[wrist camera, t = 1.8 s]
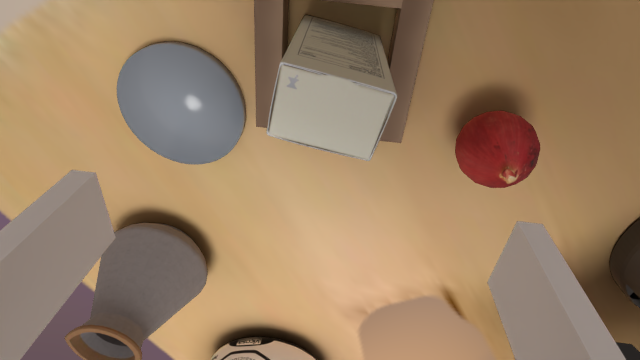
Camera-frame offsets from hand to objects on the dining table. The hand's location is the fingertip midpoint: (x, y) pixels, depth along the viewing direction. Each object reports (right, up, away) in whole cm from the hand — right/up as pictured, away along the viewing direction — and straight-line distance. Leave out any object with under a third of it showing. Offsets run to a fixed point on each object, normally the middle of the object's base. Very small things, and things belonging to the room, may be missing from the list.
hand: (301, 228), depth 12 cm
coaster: (-11, +8, +21) cm, 25 cm away
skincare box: (+2, +12, +18) cm, 21 cm away
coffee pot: (-19, -10, +34) cm, 41 cm away
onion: (+15, +6, +20) cm, 26 cm away
